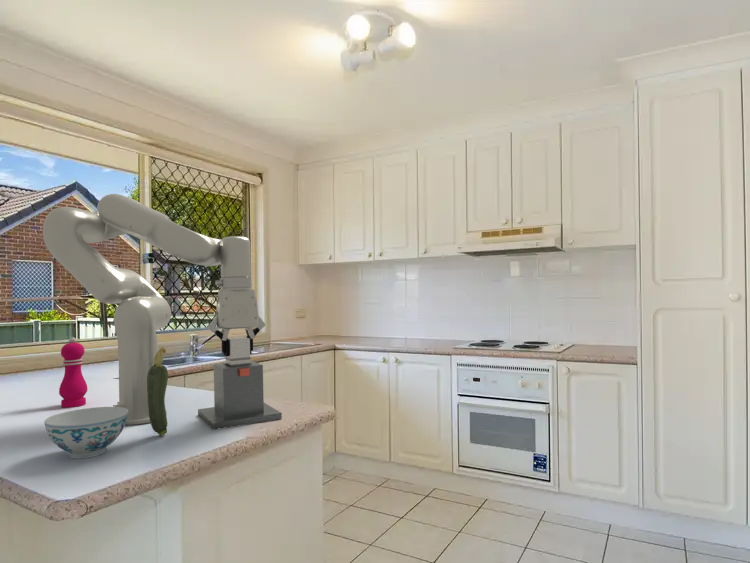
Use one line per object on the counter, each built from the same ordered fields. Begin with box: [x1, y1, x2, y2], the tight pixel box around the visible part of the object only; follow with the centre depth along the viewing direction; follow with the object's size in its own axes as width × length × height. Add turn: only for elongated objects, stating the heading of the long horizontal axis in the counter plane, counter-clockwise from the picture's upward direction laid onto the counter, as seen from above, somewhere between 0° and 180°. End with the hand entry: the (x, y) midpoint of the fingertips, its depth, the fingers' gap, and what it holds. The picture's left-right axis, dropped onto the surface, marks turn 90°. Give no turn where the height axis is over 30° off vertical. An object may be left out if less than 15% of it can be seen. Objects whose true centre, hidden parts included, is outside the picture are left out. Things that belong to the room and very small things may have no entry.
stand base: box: [197, 360, 283, 430], centre depth 131 cm, size 17×17×14 cm
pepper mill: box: [58, 336, 89, 408], centre depth 149 cm, size 7×7×20 cm
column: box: [224, 336, 251, 367], centre depth 131 cm, size 5×5×18 cm
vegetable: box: [147, 347, 169, 436], centre depth 115 cm, size 4×4×20 cm
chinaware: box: [43, 406, 128, 459], centre depth 104 cm, size 15×15×8 cm
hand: (237, 354), depth 131 cm, fingers closed on column, 5 cm apart
